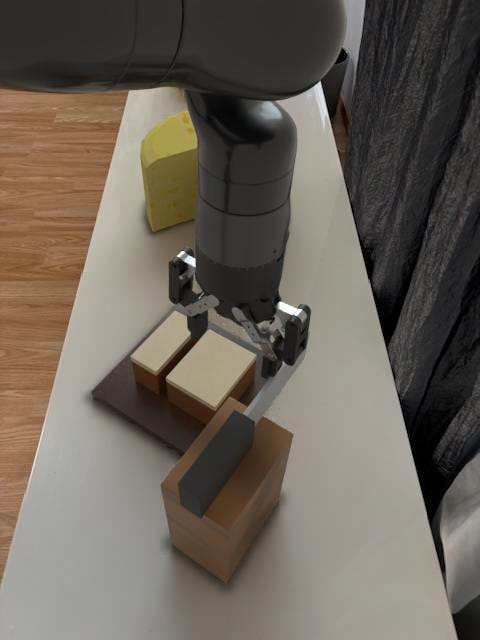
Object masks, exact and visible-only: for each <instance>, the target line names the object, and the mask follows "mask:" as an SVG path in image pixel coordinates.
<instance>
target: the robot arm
mask: <svg viewBox="0 0 480 640" xmlns="http://www.w3.org/2000/svg"><path fill="white" fill-rule="evenodd" d="M347 20H348V19H347V10H346V5H345V1H344V0H0V90H4V91H5V90H6V91H13V92H25V93H36V94H37V93H38V94H39V93H40V94H59V95H72V94H73V95H78V94H79V95H81V94H100V93H116V92H117V93H118V92H131V91H133V92H134V91H145V90H154V89H160V88H174V89H181V90H182V93H183V96H184V100H185V104H186V107H187V111H189V114H190V117H191V120H192V123H193V126H194V129H195V132H196V136H197V196H196V202H195V218H194V250H193V249H192V248H191V247H189V246H185V247H183V248H182V249H181V250H180V251H179V252H178V253H177V254H176V255H174V257H173V258H172V259H170V260H169V261H168V299H169V301H170V302H171V303H172V304H173V305H174V306H176V305H180V306H181V307H183V308H184V309H183V310H184V312H185V314H186V315H187V328H188V330H189V332H190V334H191V338H193V339H195V340H196V341H197V340H199V338H200V337H201V336H202V335H203V334H204V333H205V332H206V330H207V328H208V322H209V310H210V309H213V310H214V311H215V312H216V315H218V316H219V317H222V318H225V319H228V320H230V321H232V322H234V324H236V325H237V326H240V327H241V328H243V329H244V330H245V332H246V333H247V336H248V337H249V338H250V340H251V342H252V343H253V344H258V345H259V347H260V349H261V350H262V351H263V352H264V353H265V354H264V355H263V360H262V368H261V377H263V378H265V379H268V378H269V377H270V376H271V377H274V376H275V375H276V374H277V372H278V371H279V370H280V368H281V367H282V364H283V361H284V363H286V364H287V365H289V366H293V365H294V364H295V362H296V360H297V359H298V357H299V356H300V354H301V353H302V352H303V351H304V350H305V348H306V346H307V347H308V344H307V339H308V331H310V323H311V316H312V310H311V307H310V306H309V305H308V304H306V303H300V304H299V305H298V306H297V308H296V307H294V306H292V305H289V304H287V303H285V302H283V299H282V297H281V295H280V291H279V290H280V285H281V281H282V277H283V270H284V264H285V256H286V250H287V245H288V241H289V238H290V223H291V213H292V211H291V210H292V209H291V207H292V205H291V194H292V192H291V191H292V186H293V179H294V173H295V165H296V157H297V151H298V128H297V125H296V123H295V122H294V120H293V119H294V118H293V117H292V116H291V115H290V113H288V112H287V111H286V109H285V108H284V107H283V106H282V105H280V104H279V103H278V102H279V101H284V100H289V99H292V98H295V97H297V96H300V95H302V94H304V93H306V92H308V91H310V90H311V89H312V88H314V87H315V86H316V85H318V84H319V83H320V82H321V81H322V80H323V79H324V78H325V77H326V76H327V75H328V74H329V72H330V71H331V70H332V68H333V67H334V66H335V64H336V62H337V60H338V58H339V56H340V54H341V52H342V48H343V46H344V42H345V38H346V34H347V24H348V23H347ZM194 278H195V281H196V283H197V285H198V286H199V288H200V290H201V291H199V292H198V293H197V292H196V291H194V290H193V289H194ZM261 323H263V324H262V325H261V326H260V327H259V326H258V325H259V324H261ZM271 338H273V341H272V340H271ZM308 340H309V339H308ZM306 349H307V348H306Z"/></svg>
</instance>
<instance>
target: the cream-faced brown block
mask: <svg viewBox="0 0 480 640" xmlns="http://www.w3.org/2000/svg"><path fill="white" fill-rule="evenodd" d="M256 356H257V355H256V354H254V353H252V352H250V351H248V350H247V349H245V348H243V347H241V346H239V345H237V344H236V343H234V342H232V341H230V340H228V339H226V338H225V337H223V336H221V335H219V334H217V333H215V332H214V331H212V330H210V329H209V330H208V331H207V332H206V333H205V334H204V336H203V337H202V338H201V339H200V340H199V341H198V342H197V343H196V345H195V346H194V347H193V348H192V349H191V350H190V351H189V352H188V353H187V355H186V356H185V357H184V358H183V359H182V360H181V361H180V362H179V364H178V365H177V366H176V367H175V368H174V369H173V370H172V371H171V372H170V374H169V375H168V376H167V377H166V383H167V391H168V399H169V402H171V403H173V404H174V405H176V406H178V407H179V408H181V409H182V410H184V411H186V412H187V413H189V414H191V415H192V416H194V417H195V418H197V419H199V420H200V421H202V422H204V423H205V424H207V425H208V423H209V422H210V421H211V420H212V418H213V417H214V416H215V415H216V413H217V412H218V411H219V409H220V408H221V407H222V406H223V404H224V403H225V402H226V400H227V399H228V398H229V397H231V398H233V399H235V400H237V401H238V400H239V398H240V397H241V396H242V394H243V393H244V392H245V390H246V389H247V388H248V387H249V385H250V384H251V383H252V381H253V380H254V378H255V367H256Z"/></svg>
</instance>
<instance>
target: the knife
mask: <svg viewBox="0 0 480 640" xmlns="http://www.w3.org/2000/svg"><path fill="white" fill-rule="evenodd" d="M310 334H311V331H310V330H309V331H308V339H307V346H306V348H305V350H304V351H303V352H302V353H301V354H300V356H299V357H298V359H297V360H296V362H295V364H294V365H293V366H289V365H287V364H286V363H284V361H283V364H282V367H281V368H280V370H279V371H278V372H277V374H276V375H275V376H274V377H270V378H269V380H268V381H267V382H266V384H265V385H264V386H263V388H262V389H261V390H260V392H259V393H258V395H257V396H256V397H255V399H254V400H253V401H252V403H251V404H250V405H249V407H248V408H247V409H246V411H245V412H244V413H243V414H241V413H240V412H238V411H236V410H234V411H233V412H232V413H231V415H230V416H229V417H228V418H227V420H226V421H225V422H224V424H223V425H222V426H221V428H220V429H219V430H218V432H217V433H216V434H215V435H214V437H213V438H212V439H211V441H210V442H209V443H208V445H207V446H206V447H205V449H204V450H203V451H202V452H201V454H200V455H199V456H198V458H197V459H196V460H195V462H194V463H193V464H192V465H191V467H190V468H189V469H188V471H187V472H186V473H185V475H184V476H183V477H182V479H181V480H180V481H179V482H178V490H179V497H180V505H181V506H183V507H184V508H186V509H187V510H188V511H190V512H191V513H193V514H194V515H196V516H197V517H199V518H200V519H201V518H202V517H203V515H204V514H205V512H206V511H207V510H208V508H209V507H210V505H211V504H212V503H213V501H214V500H215V498H216V497H217V495H218V494H219V493H220V491H221V490H222V488H223V487H224V486H225V484H226V483H227V481H228V480H229V479H230V477H231V476H232V474H233V473H234V471H235V470H236V469H237V467H238V466H239V464H240V463H241V462H242V460H243V459H244V457H245V456H246V454H247V453H248V452H249V450H250V449H251V447H252V446H253V437H254V428H255V426H256V425H257V423H258V422H259V421H260V419H261V418H262V416H264V415H265V414H266V413H267V411H268V410H269V408H270V407H271V405H272V404H273V403H274V401H275V400H276V398H277V397H278V396H279V395H280V393H281V392H282V391H283V389H284V387H285V386H286V385H287V383H288V382H289V381H290V379H291V378H292V376H293V375H294V373H295V372H296V371H297V369H298V368H299V366H301V364H302V362H303V361H304V360H305V357H306V353H307V347H308V343H309V339H310Z"/></svg>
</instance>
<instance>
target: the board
mask: <svg viewBox="0 0 480 640" xmlns="http://www.w3.org/2000/svg"><path fill="white" fill-rule="evenodd" d="M183 309H184V307H183V306H182V305H180V304H177V305H174V306H173V308H172V309H170V311H169V312H168V313H166V314H165V316H164V317H162V319H160V320H159V322H158V323H156V325H155V326H154V327H153V328H152V329H151V330H150V331H149V332H148V333H147V334H146V335H145V336H144V337H143V338H142V340H140V341H139V342H138V343H137V344H136V345H135V346H134V347H133V348H132V349H131V350H130V351H129V352H128V353H127V355H125V356H124V357H123V358H122V360H121V361H120V362H119V363H118V364H116V366H115V367H114V368H112V370H111V371H110V372H109V373H107V374H106V375H105V377H104V378H103V379H102V380H101V381H100V382H99V383H98V384H97V385H96V386H95V387H94V388H93V389H92V390H90V394H91V396H92V398H93V399H95V400H96V401H97V402H99V403H101V404H102V405H103V406H105V407H107V408H108V409H110V410H112V411H113V412H114V413H116V414H118V415H120V416H121V417H122V418H124V419H125V420H127V421H129V422H130V423H132V424H134V426H136V427H138V428H139V429H141V430H142V431H144V432H145V433H146V434H148V435H150V436H151V437H153V438H155V439H156V440H157V441H159V442H160V443H162V444H164V445H165V446H167V447H168V448H170V449H171V450H173V451H175V452H176V453H178V454H179V455H181V457H183V455H184V454H185V453H186V451H187V450H188V449H189V448H190V446H191V445H192V444H193V443H194V441H195V440H196V439H197V437H198V436H199V435H200V434H201V432H202V431H203V430H204V429H205V427H206V426H207V424H205V423H204V422H202V421H200V420H199V419H197V418H195V417H194V416H192V415H191V414H189V413H187V412H186V411H184V410H182V409H181V408H179V407H178V406H176V405H174V404H173V403H171V402H169V399H168V391H167V388H166V389H165V390H164V391H163V392H162V393H161V394H160V395H158V394H157V393H155V392H153V391H152V390H150V389H148V388H147V387H145V386H144V385H142V384H140V383H139V382H137V381H135V377H134V372H133V367H132V362H131V358H130V356H131V355H132V354H133V353H134V352H135V351H136V350H137V349H138V348H139V347H140V346H141V345H142V344H143V343H144V342H145V341H146V340H147V339H148V338H149V337H150V336H151V334H152V333H153V332H154V331H155V330H156V329H157V328H158V327H159V326H160V325H161V324H162V323H163V322H164V321H165V320H166V319H167V318H168V317H169V316H170V315H171V314H172V313H173V312H174V311H177V312H179V313H181V314H183V315H184V316H186V317H187V315H186V314H185V312H184V310H183ZM209 329H210V330H212V331H214V332H215V333H217V334H219V335H221V336H223V337H225V338H226V339H228V340H230V341H232V342H234V343H236V344H237V345H239V346H241V347H243V348H245V349H247V350H248V351H250V352H252V353H254V354H256V355H257V356H256V367H255V378H254V380H253V381H252V383H251V384H250V385H249V387H248V388H247V389H246V390H245V392H244V393H243V394H242V396H241V397H240V398H239V400H238V402H240V403H242V404H243V405H245V406H247V407H249V405H250V404H251V403H252V401H253V400H254V399H255V397H256V396H257V395H258V393H259V392H260V390H261V389H262V388H263V386H264V385H265V384H266V382H267V381H268V380H269V378H270V377H271V376H270V377H269V378H268V379H265V378H263V377H261V368H262V360H263V355H264V354H265V353H264V352H263V350H262V349H261V348H258V347H257V346H254V345H253V344H251V343H249V342H247V341H246V340H243V339H242V338H240V337H238V336H236V335H234V334H232V333H230V332H229V331H227V330H225V329H223V328H221V327H219V326H218V325H216V324H214V323H212V322H210V321H208V328H207V330H206V332H207V331H208V330H209ZM206 332H205V333H206ZM205 333H204V334H205ZM204 334H203V335H202V336H201V337H200V339H201V338H202V337H203V336H204Z"/></svg>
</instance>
